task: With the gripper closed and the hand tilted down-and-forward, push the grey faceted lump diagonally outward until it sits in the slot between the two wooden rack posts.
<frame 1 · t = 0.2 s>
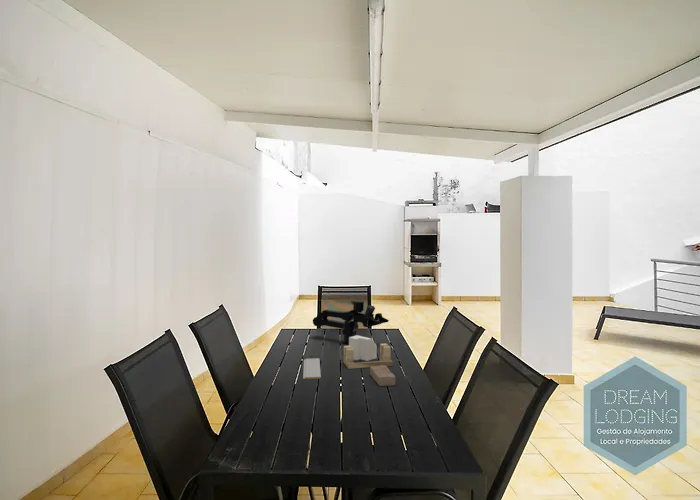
hand: (384, 322, 258), 17 cm above the table, tool horizontal, fingers open, 9 cm apart
baseboard: (310, 370, 221), on the table
grey faceted lump: (362, 358, 240), on the table
brick: (382, 380, 206), on the table
wooden rack: (366, 361, 233), on the table
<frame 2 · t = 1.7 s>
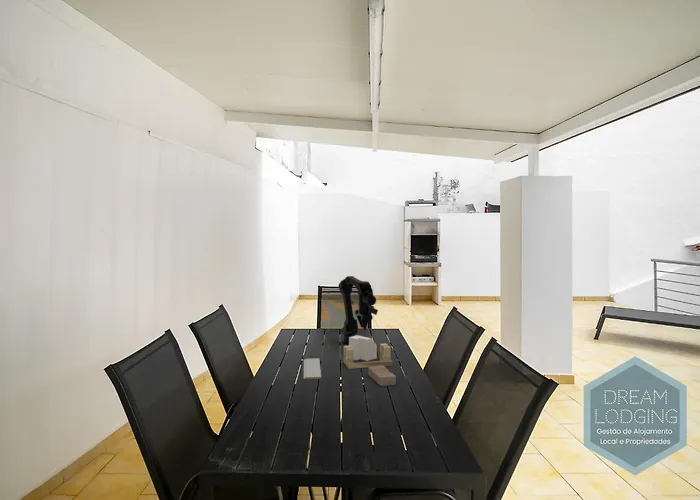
hand: (363, 328, 255), 13 cm above the table, tool pointing down, fingers open, 6 cm apart
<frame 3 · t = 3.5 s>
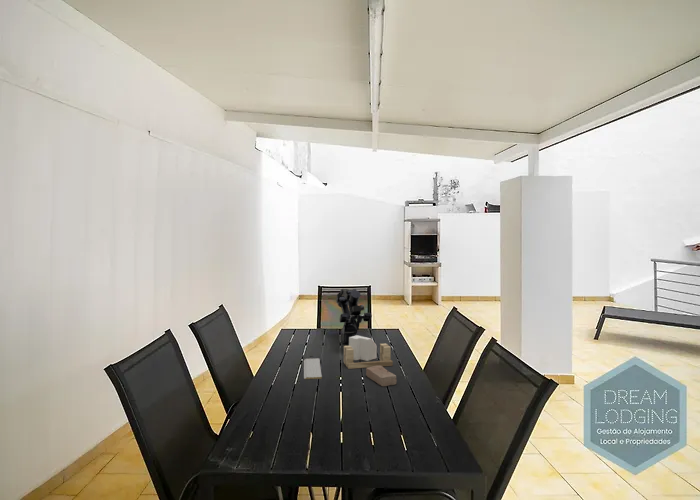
hand: (357, 329, 251), 13 cm above the table, tool tilted 45°, fingers closed
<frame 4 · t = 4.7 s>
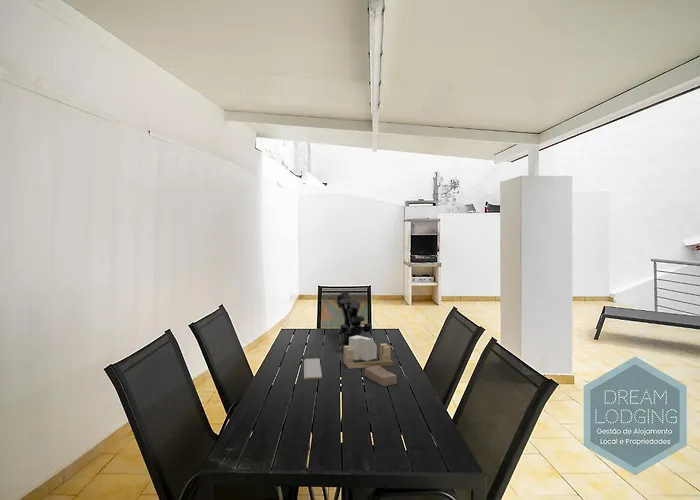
hand: (358, 340, 251), 7 cm above the table, tool tilted 45°, fingers closed
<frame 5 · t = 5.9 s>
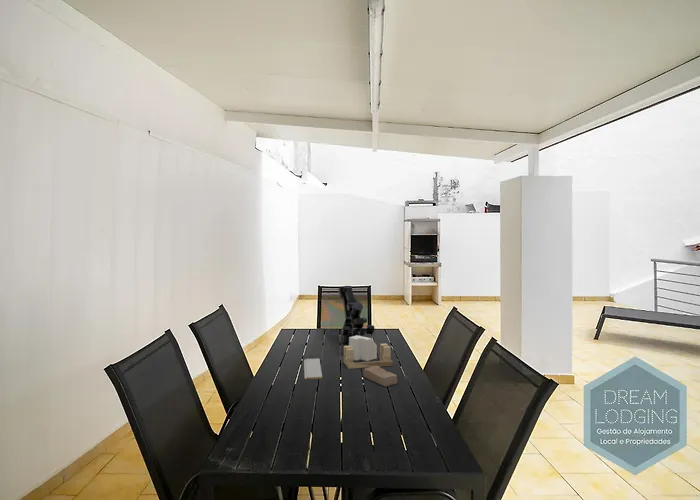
hand: (360, 342, 245), 7 cm above the table, tool tilted 45°, fingers closed, pressing on grey faceted lump
grey faceted lump: (362, 358, 240), on the table, touching gripper
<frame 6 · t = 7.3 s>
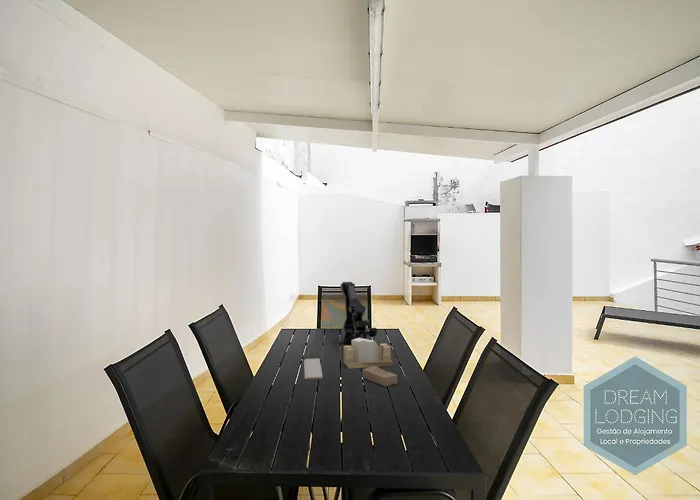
hand: (363, 346, 239), 7 cm above the table, tool tilted 45°, fingers closed, pressing on grey faceted lump
grey faceted lump: (365, 361, 235), on the table, touching gripper
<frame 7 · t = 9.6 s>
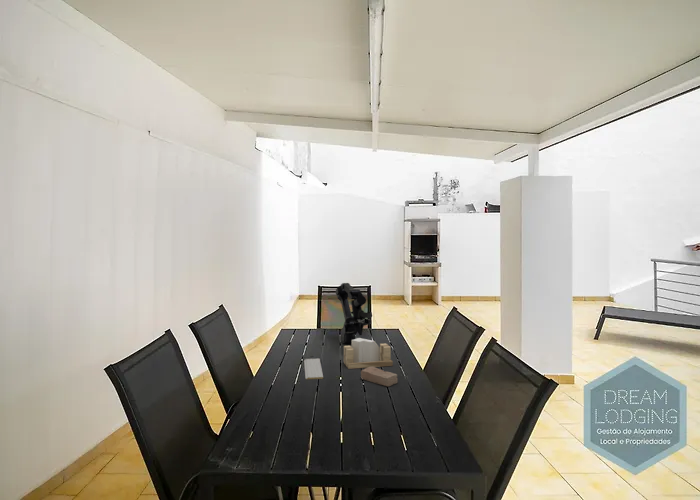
hand: (360, 335, 252), 10 cm above the table, tool tilted 25°, fingers closed
grey faceted lump: (365, 361, 234), on the table
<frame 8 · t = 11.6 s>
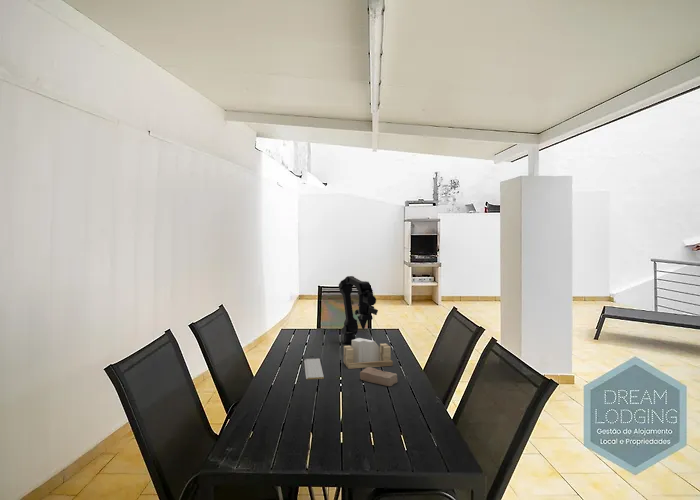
hand: (363, 328, 255), 13 cm above the table, tool pointing down, fingers closed
at the end: grey faceted lump 1.1 cm from the wooden rack (horizontally); grey faceted lump tilted 0°; grey faceted lump moved 5.9 cm from its start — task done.
